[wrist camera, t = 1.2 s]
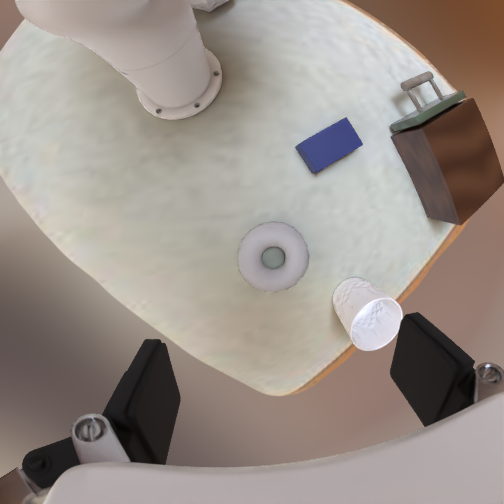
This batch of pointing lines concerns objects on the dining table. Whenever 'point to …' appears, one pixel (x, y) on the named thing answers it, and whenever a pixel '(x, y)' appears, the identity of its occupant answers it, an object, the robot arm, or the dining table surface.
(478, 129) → the cabinet
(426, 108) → the drawer
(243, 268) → the donut
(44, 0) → the robot arm
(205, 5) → the die
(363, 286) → the white cup
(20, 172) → the dining table surface
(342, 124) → the tall navy block
